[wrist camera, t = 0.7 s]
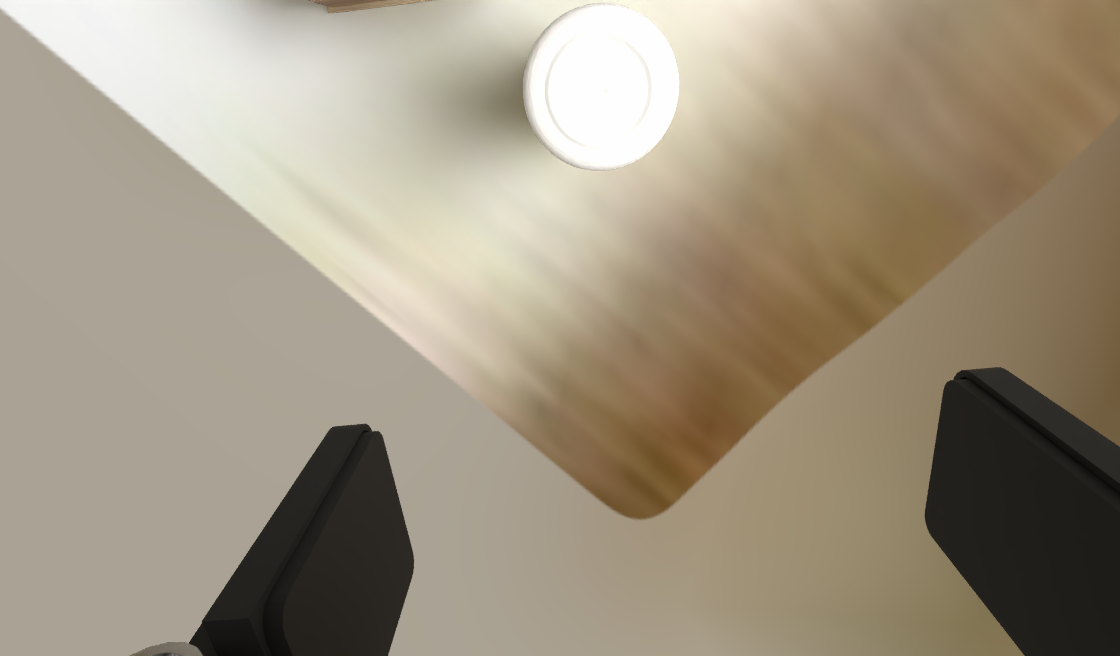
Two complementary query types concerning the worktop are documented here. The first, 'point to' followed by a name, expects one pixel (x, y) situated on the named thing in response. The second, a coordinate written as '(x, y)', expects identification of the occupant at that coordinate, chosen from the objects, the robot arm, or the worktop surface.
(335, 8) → the open wooden box
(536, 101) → the sprinkles bottle
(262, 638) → the robot arm
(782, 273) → the worktop surface
